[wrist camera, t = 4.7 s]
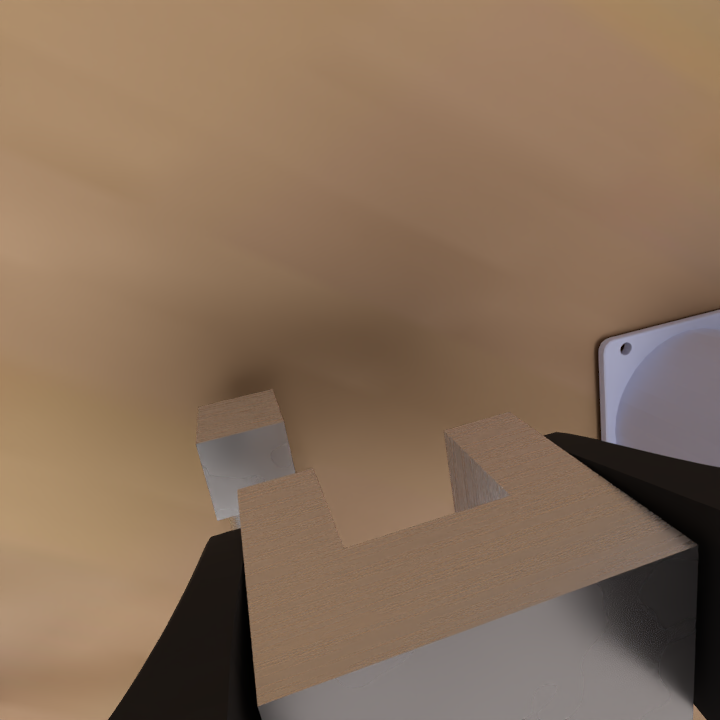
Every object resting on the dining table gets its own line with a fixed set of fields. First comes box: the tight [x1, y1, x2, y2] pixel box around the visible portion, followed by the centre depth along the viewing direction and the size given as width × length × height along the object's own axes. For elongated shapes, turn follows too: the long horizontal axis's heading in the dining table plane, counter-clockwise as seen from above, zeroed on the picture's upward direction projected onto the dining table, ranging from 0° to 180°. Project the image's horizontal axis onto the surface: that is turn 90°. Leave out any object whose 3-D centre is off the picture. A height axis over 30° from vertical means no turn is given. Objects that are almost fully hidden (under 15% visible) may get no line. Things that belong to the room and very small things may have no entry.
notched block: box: [237, 412, 699, 720], centre depth 9 cm, size 5×3×4 cm, turn 101°
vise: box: [196, 389, 295, 530], centre depth 18 cm, size 16×20×6 cm
